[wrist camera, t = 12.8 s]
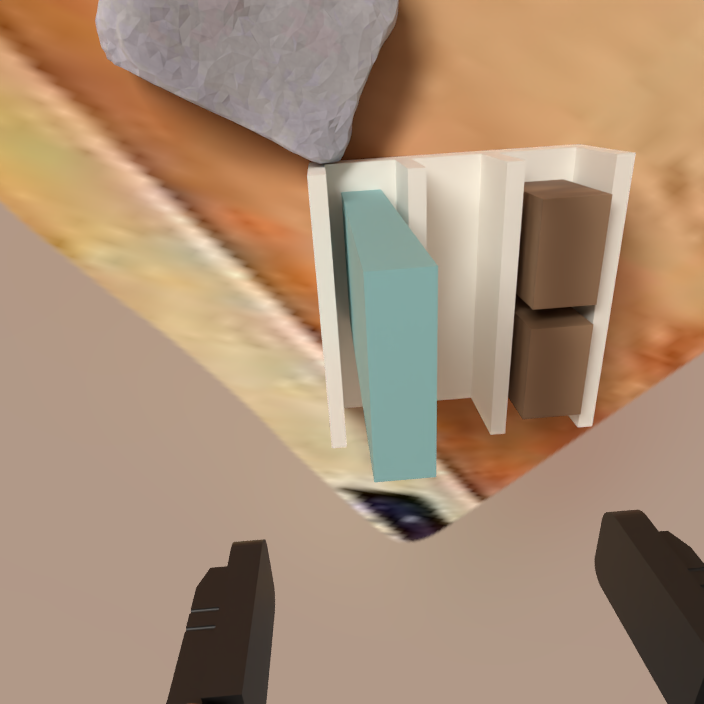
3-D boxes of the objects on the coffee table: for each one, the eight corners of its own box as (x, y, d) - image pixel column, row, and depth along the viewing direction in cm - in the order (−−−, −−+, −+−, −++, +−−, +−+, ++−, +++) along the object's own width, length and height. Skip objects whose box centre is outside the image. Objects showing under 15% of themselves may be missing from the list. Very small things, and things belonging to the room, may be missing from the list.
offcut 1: (563, 179, 27) (612, 194, 23) (553, 273, 29) (596, 304, 25) (505, 183, 27) (543, 199, 22) (499, 277, 29) (533, 309, 25)
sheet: (380, 189, 27) (438, 265, 14) (385, 318, 30) (436, 476, 17) (341, 192, 27) (363, 271, 14) (349, 320, 30) (374, 482, 17)
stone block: (172, -153, 23) (102, 73, 25) (152, -239, 19) (69, 43, 21) (407, -13, 27) (331, 179, 28) (440, -59, 22) (346, 174, 24)
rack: (578, 143, 28) (635, 152, 23) (551, 378, 34) (592, 426, 29) (308, 162, 27) (307, 175, 22) (329, 397, 33) (332, 448, 28)
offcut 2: (551, 290, 30) (593, 324, 25) (542, 370, 32) (580, 414, 27) (498, 295, 30) (530, 329, 25) (493, 374, 32) (522, 419, 27)
